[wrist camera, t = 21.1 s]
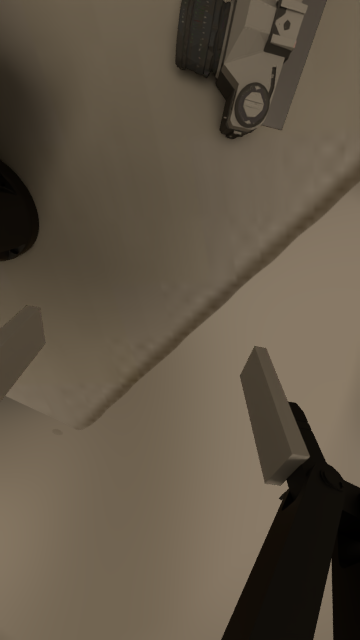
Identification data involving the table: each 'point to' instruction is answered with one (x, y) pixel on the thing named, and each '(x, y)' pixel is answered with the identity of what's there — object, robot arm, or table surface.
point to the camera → (239, 52)
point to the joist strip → (294, 66)
